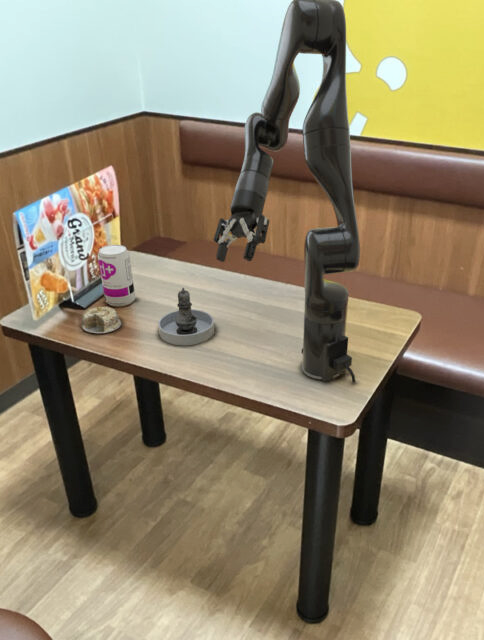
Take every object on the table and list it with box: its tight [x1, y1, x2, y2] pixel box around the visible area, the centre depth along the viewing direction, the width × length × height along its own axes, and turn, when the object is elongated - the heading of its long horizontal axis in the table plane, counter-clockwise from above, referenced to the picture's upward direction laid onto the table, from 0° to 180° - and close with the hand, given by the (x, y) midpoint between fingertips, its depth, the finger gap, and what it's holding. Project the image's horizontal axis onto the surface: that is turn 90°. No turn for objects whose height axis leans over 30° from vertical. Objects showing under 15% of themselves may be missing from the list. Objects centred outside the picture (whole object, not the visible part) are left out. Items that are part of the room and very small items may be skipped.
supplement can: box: [97, 244, 136, 308], centre depth 164 cm, size 8×8×15 cm
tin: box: [157, 308, 215, 346], centre depth 153 cm, size 14×14×3 cm
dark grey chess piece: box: [174, 287, 198, 335], centre depth 150 cm, size 6×6×12 cm
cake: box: [81, 306, 122, 334], centre depth 155 cm, size 10×10×5 cm
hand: (233, 260), depth 140 cm, fingers open, 8 cm apart
